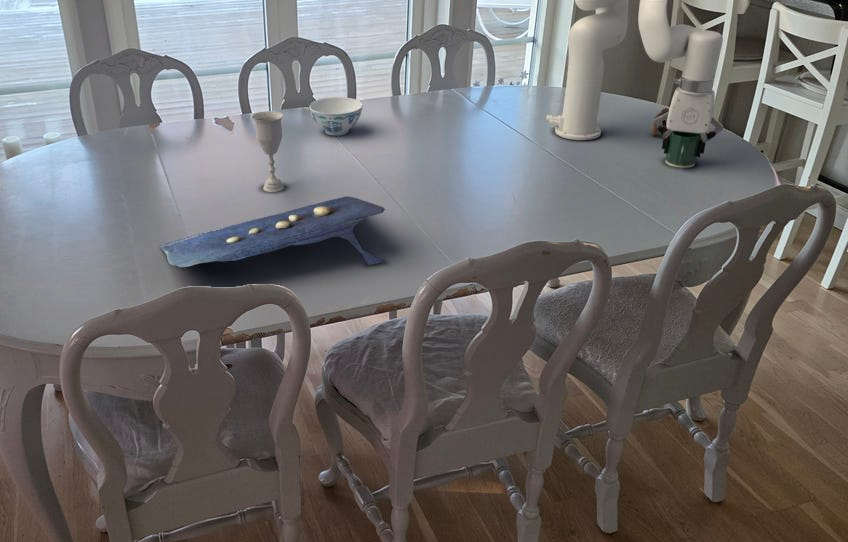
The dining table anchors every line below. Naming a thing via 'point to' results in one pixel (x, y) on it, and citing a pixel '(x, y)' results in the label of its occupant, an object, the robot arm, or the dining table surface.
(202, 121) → the dining table surface
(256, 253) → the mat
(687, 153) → the green mug
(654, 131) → the broken pottery
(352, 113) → the chinaware
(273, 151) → the chalice
